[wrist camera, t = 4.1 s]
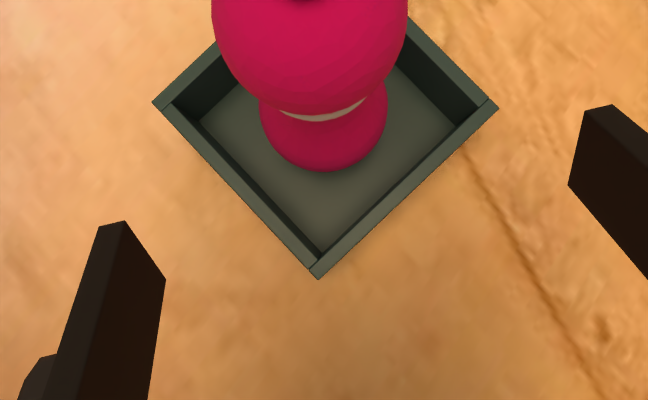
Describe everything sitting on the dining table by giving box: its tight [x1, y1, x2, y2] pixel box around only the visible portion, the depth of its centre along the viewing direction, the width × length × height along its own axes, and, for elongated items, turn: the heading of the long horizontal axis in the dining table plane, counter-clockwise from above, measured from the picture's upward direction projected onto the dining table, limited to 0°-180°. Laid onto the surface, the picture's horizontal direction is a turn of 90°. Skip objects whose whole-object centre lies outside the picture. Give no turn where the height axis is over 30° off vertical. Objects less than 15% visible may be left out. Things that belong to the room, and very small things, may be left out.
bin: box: [152, 16, 499, 280], centre depth 28 cm, size 14×14×6 cm
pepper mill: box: [211, 0, 408, 172], centre depth 20 cm, size 7×7×20 cm
